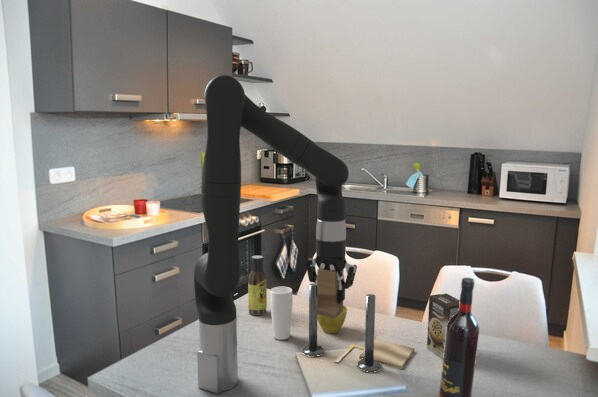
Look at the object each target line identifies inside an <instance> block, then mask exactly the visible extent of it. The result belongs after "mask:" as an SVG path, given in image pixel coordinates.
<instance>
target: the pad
mask: <svg viewBox="0 0 598 397" xmlns="http://www.w3.org/2000/svg"><path fill="white" fill-rule="evenodd" d="M414 352H415V348H414V347H410V346H406V345H402V344H397V343H393V342H389V341H385V340H382V339H381V340H380V339H376V338H374V360H376V361H378V362H379V363H381V364H380V365H382V364H385V365H384V366H386V365H388V366H387V367H390V366H391V368H393V369H398V370H402V369H403V368H404V366H405V365H406V363H407V362H408V361H409V359H410V358H411V356H412V355H413V353H414ZM359 358H363V359H365V350H363V351H362V352H361V354H359Z"/></svg>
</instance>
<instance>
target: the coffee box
mask: <svg viewBox="0 0 598 397" xmlns="http://www.w3.org/2000/svg"><path fill="white" fill-rule="evenodd" d="M428 297H429V298H428V316H427V317H428V318H427V338H426V342H427V343H426V348H427V349H428V350H429V351H430V352H432V353H433V354H434V355H436V356H437V357H439V358H440V359H441V360H443V353H444V345H445V337H446V327H447V323H448V321H449V320H450V319H451V318H452V316H453V315H455V314H456V313H457V312H458V309H459V301H461V300H460V299H458V298H456V297H454V296H452V295H450V294H448V293H442V294H441V293H438V294H432V295H428Z"/></svg>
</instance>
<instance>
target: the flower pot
mask: <svg viewBox="0 0 598 397" xmlns="http://www.w3.org/2000/svg"><path fill="white" fill-rule="evenodd" d="M347 314H348V307H347V306H345V305H344V304H343V312H342V313H340V314H339V315H338V316H337V317H336V318H331V317H327V316H322V315H318V314H317V323H318V324H319V326H320V328H321V330H322V331H323V332H324V333H327V334H335V333H338V332H339V331H340V330H341V329H342V327H343V324H344V323H345V320H346V318H347Z"/></svg>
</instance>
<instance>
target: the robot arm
mask: <svg viewBox="0 0 598 397" xmlns="http://www.w3.org/2000/svg"><path fill="white" fill-rule="evenodd" d="M203 96H204V97H203V98H204V99H203V100H204V104H205V114H206V127H207V128H206V129H207V130H206V132H207V133H206V145H205V151H204V156H203V164H202V171H201V189H200V190H201V192H200V193H201V194H200V196H201V199H200V200H201V209H202V213H203V218H204V221H205V225H206V226H205V227H206V231H207V236H208V238H207V239H208V248H207V249H208V250H207V252H206V253H204V254H202V256H200V257H198V260H197V261H196V263H195V266H194V271H193V283H194V284H193V286H194V298H195V299H194V300H195V306H196V309H197V313H198V336H199V338H198V340H199V350H198V351H196V353H197V354H196V359H197V361H196V362H197V384H198V385H197V387H198V388H200V389H201V390H205V391H208V392H210V393H214V394H216V395H217V394H219V393H223V392H227V391H229V390H231V389H232V388H234V387H235V386H236V385H237V384H238V382H239V380H238V379H239V376H238V375H239V374H238V372H239V371H238V331H237V330H238V329H237V327H238V325H237V324H238V323H237V321H238V320H237V319H238V318H237V307H236V306H237V305H236V304H235V302H234V299H233V297H232V293H234V292H235V290H236V289H237V287H238V286H239V284H240V283H239V282H240V280H241V261H240V247H239V246H240V245H239V244H240V243H239V235H240V234H239V230H240V215H241V214H240V210H241V194H242V193H241V192H242V161H241V159H242V158H241V146H240V145H241V143H240V136H241V128H243V129H244V130H247V131H248V132H250V133H251V134H253V135H254V136H255V137H257V138H258V139H259V140H261V141H262V142H264V143H265V144H267V145H268V146H269V147H270V148H272V150H275V151H276V152H277V153H279V154H280V155H281V156H283V157H284V158H286V159H287V160H288V161H290V162H292V163H293V164H294V165H296V166H298V167H299V168H302V169H304V170H305V171H306V172H308V173H309V174H311V175H312V176H314V178H315V180H314V182H315V188H316V196H317V197H316V198H317V209H316V210H317V211H316V212H317V214H316V219H317V220H316V227H315V228H316V230H315V233H316V234H315V253H316V254H315V255H316V256H315V258H313V257H310V258H308V259H306V260H305V262H304V263H305V267H306V271H307V272H306V273H307V277H308V281H309V282H310V283H312V284H315V285H316V296H317V269H316V266H317V267H318V269H319V268H320V269H323V270H324V269H328V270H331V271H335V272H336V271H338V273H337V287H338V290H337V303H339V304H340V303H342V302H343V303H344V301H345V299H346V290H347V289H349V288H351V287H352V286H353V284H354V281H355V277H356V273H357V269H358V266H357V265H356V264H350V263H348V261H347V259H346V254H347V253H346V249H347V248H346V247H347V246H346V245H347V241H346V240H347V238H346V237H347V227H346V202H345V198H344V197H343V196H344V195H343V188H342V186H343V185H344V184H346V182H347V181H348V179H349V175H350V172H349V168H348V166H347V165H346V163H345V162H344V161H343V160H342V159H340V158H339V157H338V156H335V155H334V154H332V153H331V152H329V151H328V150H325V149H324V148H322V147H321V146H319V145H318V144H317V143H315V142H314V141H313V140H312V139H311V138H309V137H308V136H306V135H304V134H303V133H302V132H300V131H298V130H297V129H296V128H294V127H292V126H291V125H289V124H288V123H286V122H284V121H282V120H281V119H280V118H279V119H278V118H277V117H275V116H273V115H271V114H270V113H269V112H267V111H265V110H264V109H263V108H261V107H260V106H258V105H257V104H256V103H255V102H254V101H253V100H251V98H250V97H248V96H247V94H245V89H244V86H243V85H242V84H241V83H240V82H239V80H238V79H236V78H235V77H233V76H230V75H228V74H227V75H226V74H224V75H222V74H221V75H218V76H216V77H213V78H212V79H211V80H210V81H209V82H208V83H207V85H206V87H205V90H204V93H203ZM343 269H346V270H345V272H346V273H347V274H346V277H345V274H344V273H343ZM340 273H341V276H340V277H339V276H338V275H339V274H340ZM345 278H346V279H345Z"/></svg>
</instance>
